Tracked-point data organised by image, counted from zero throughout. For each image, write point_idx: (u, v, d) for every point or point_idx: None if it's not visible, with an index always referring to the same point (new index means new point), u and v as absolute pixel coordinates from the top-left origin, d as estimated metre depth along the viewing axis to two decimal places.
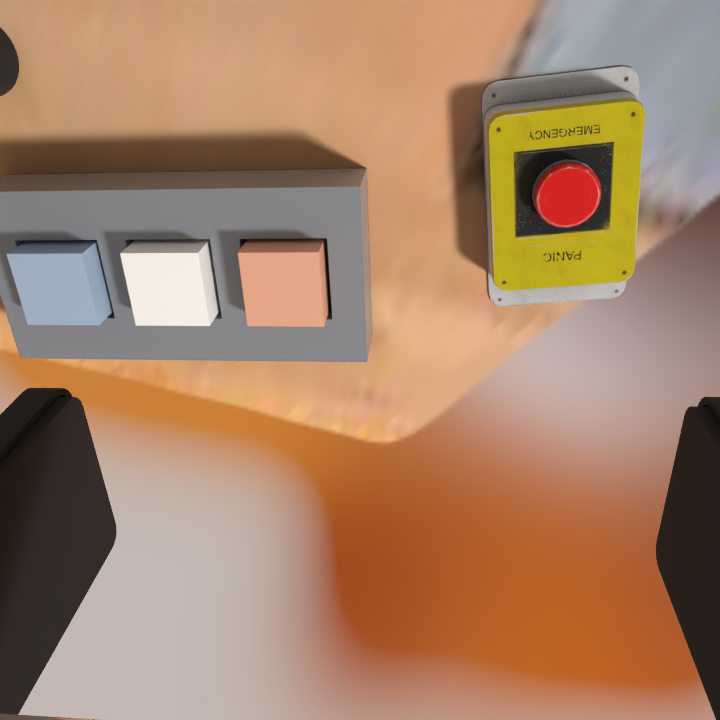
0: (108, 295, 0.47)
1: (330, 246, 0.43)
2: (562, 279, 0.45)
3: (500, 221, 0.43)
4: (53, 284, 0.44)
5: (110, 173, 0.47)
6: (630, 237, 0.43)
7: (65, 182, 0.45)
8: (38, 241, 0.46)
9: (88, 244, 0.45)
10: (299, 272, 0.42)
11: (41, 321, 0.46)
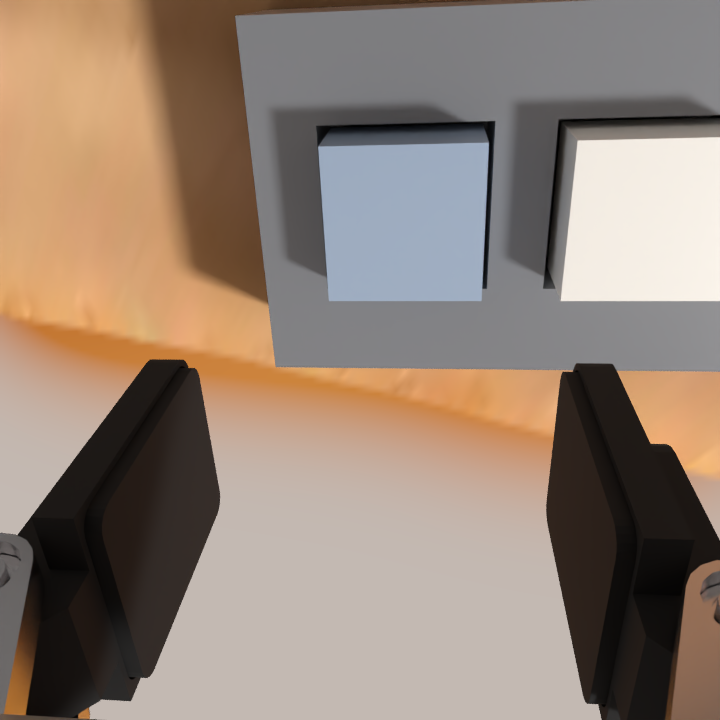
0: None
1: None
2: None
3: None
4: (405, 213, 0.21)
5: None
6: None
7: (422, 4, 0.22)
8: (356, 130, 0.22)
9: (474, 131, 0.21)
10: None
11: (359, 293, 0.23)
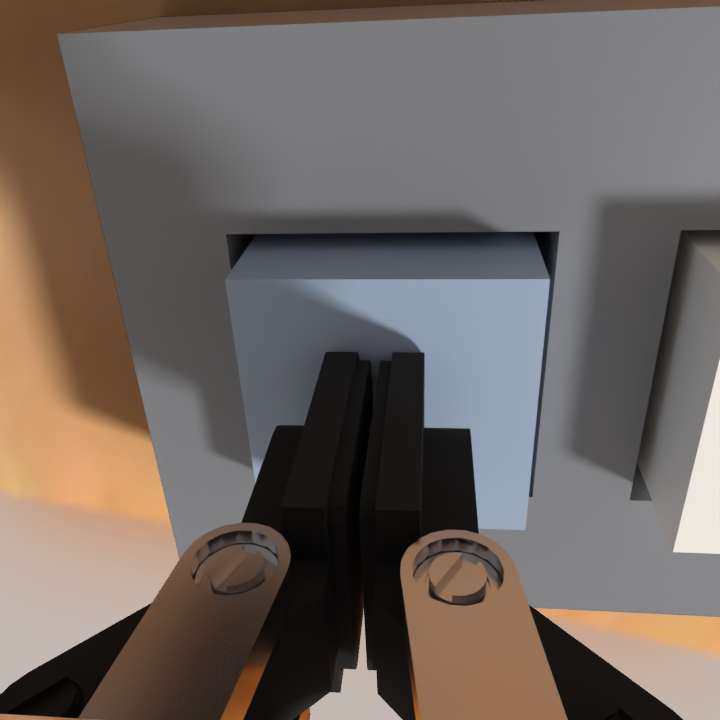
0: None
1: None
2: None
3: None
4: None
5: None
6: None
7: (421, 11, 0.12)
8: None
9: (516, 239, 0.12)
10: None
11: None
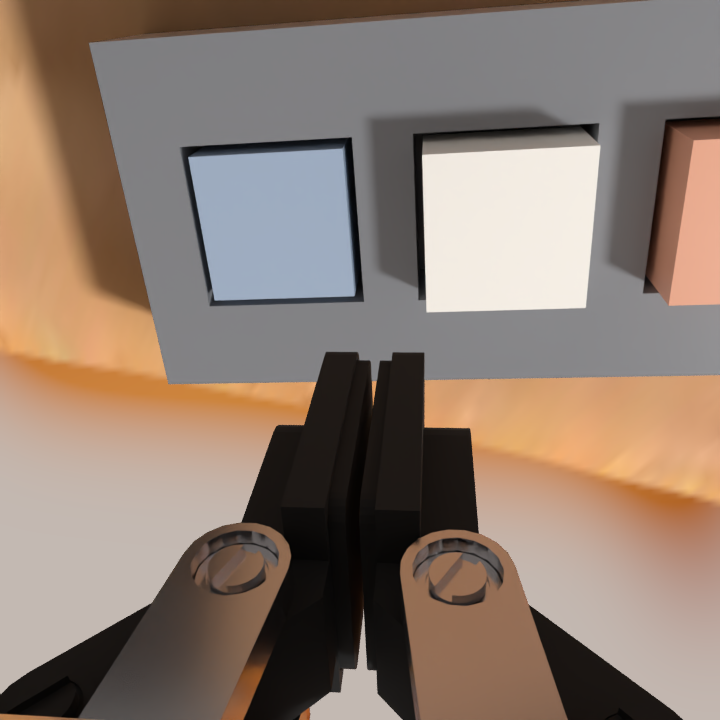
0: (357, 242, 0.25)
1: None
2: None
3: None
4: (275, 216, 0.23)
5: None
6: None
7: None
8: None
9: (338, 138, 0.23)
10: None
11: (242, 292, 0.24)
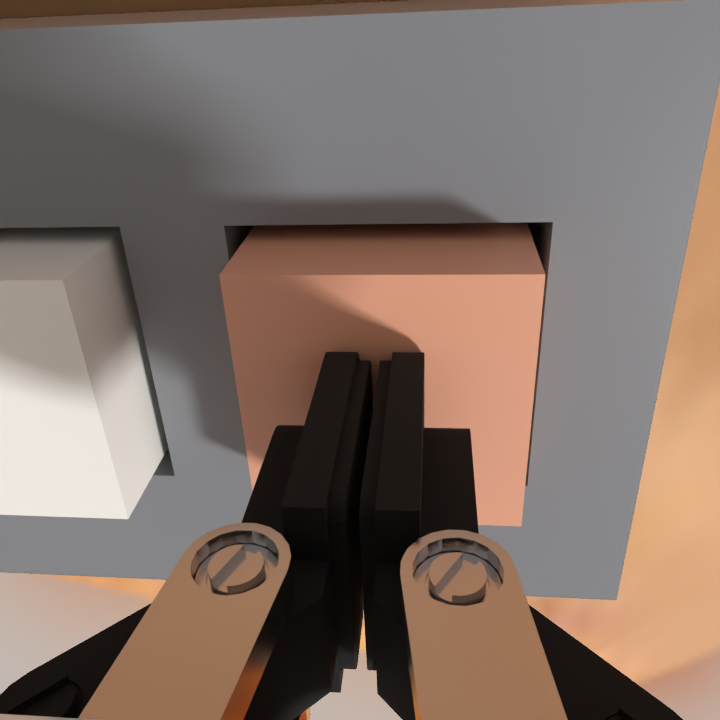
0: None
1: (561, 252, 0.12)
2: None
3: None
4: None
5: None
6: None
7: None
8: None
9: None
10: (458, 351, 0.11)
11: None
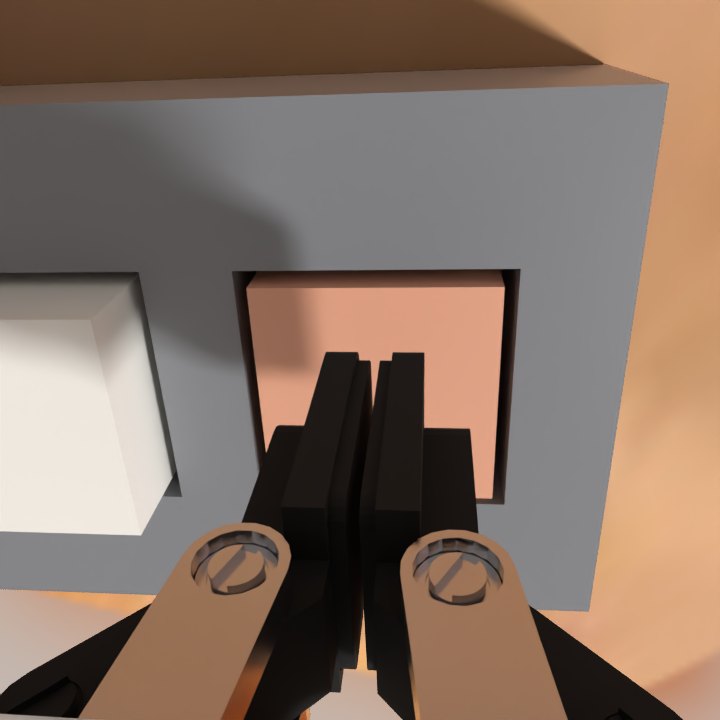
0: None
1: (528, 295, 0.13)
2: None
3: None
4: None
5: None
6: None
7: None
8: None
9: None
10: (437, 349, 0.14)
11: None
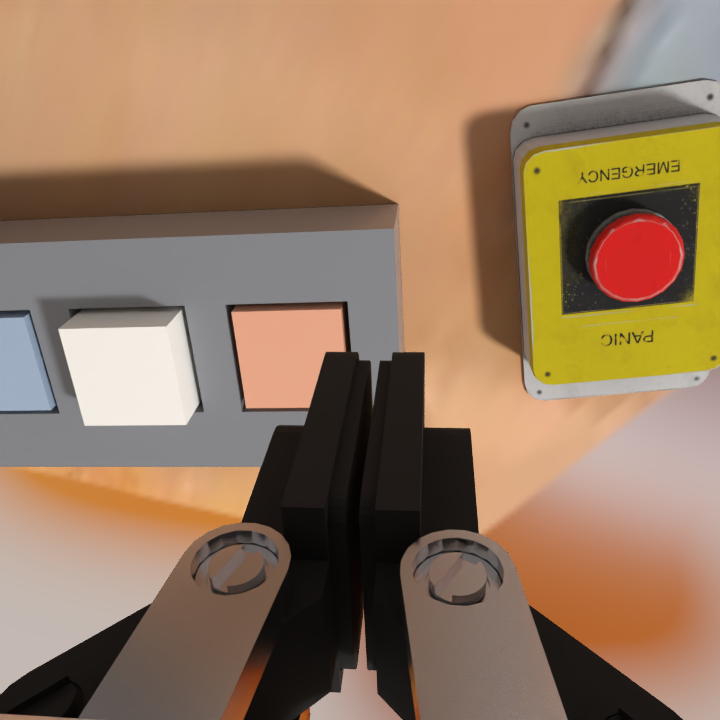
0: None
1: (352, 312, 0.31)
2: (628, 368, 0.33)
3: (541, 295, 0.32)
4: None
5: (53, 219, 0.35)
6: None
7: None
8: None
9: None
10: (315, 337, 0.31)
11: None
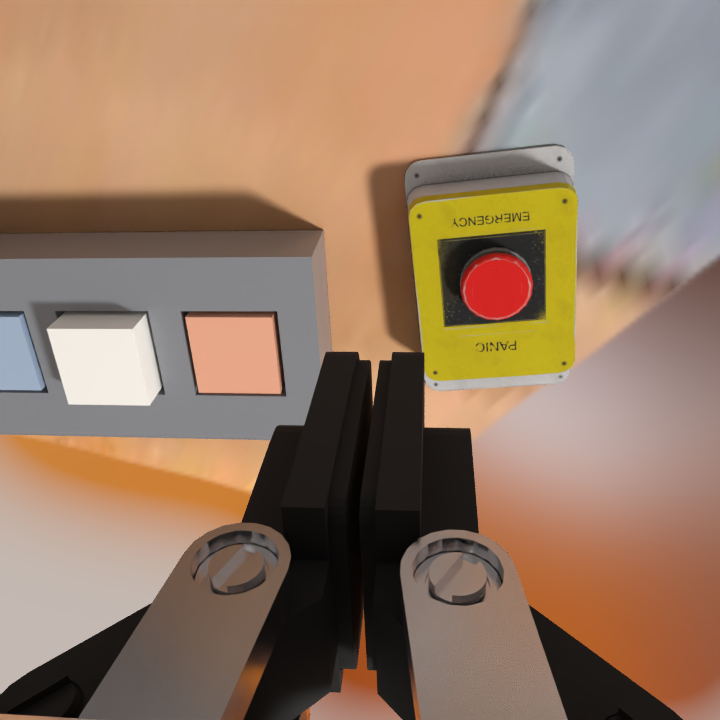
0: None
1: (281, 320, 0.39)
2: (498, 370, 0.41)
3: (427, 311, 0.40)
4: None
5: (42, 234, 0.42)
6: (568, 327, 0.39)
7: None
8: None
9: None
10: (252, 338, 0.39)
11: None
